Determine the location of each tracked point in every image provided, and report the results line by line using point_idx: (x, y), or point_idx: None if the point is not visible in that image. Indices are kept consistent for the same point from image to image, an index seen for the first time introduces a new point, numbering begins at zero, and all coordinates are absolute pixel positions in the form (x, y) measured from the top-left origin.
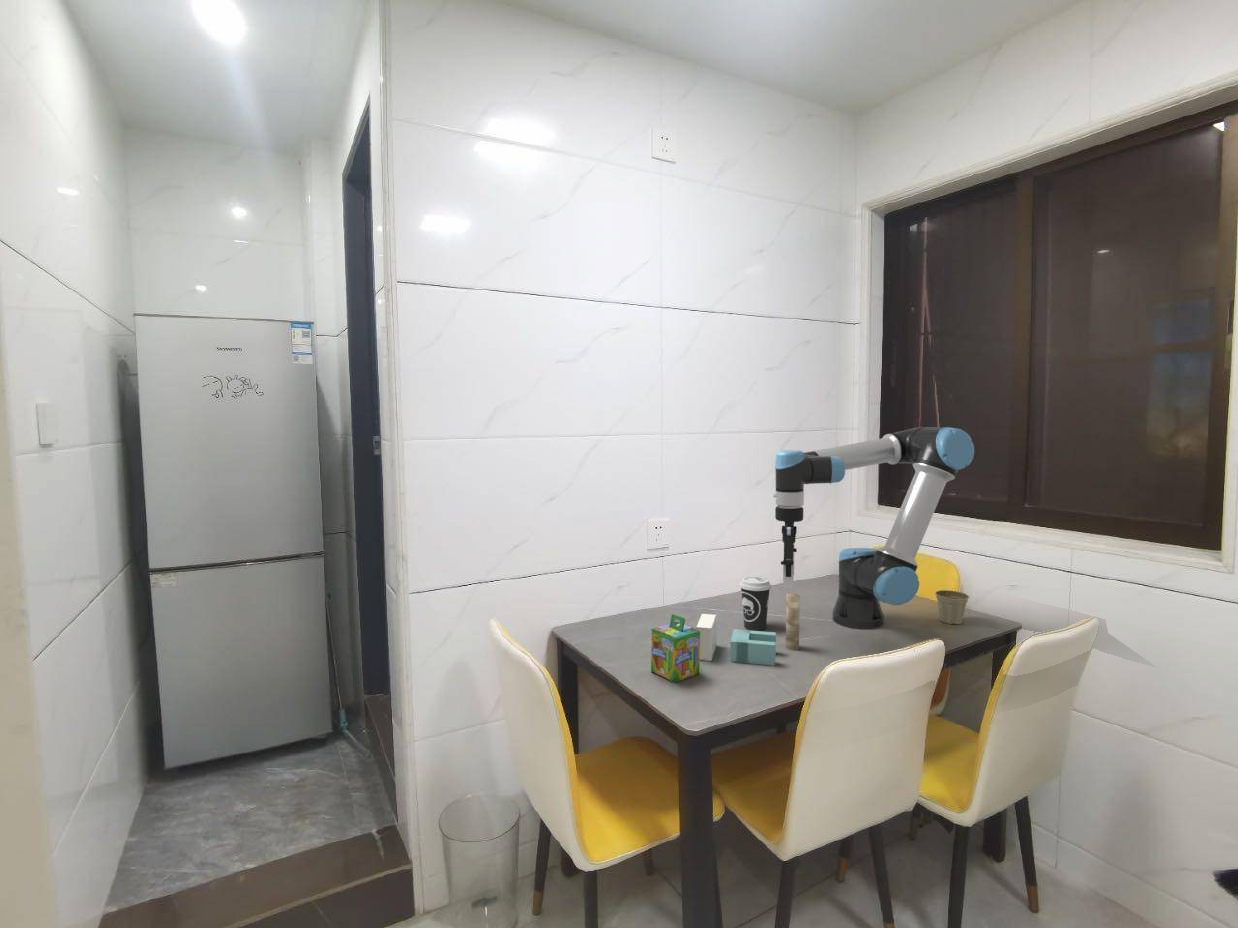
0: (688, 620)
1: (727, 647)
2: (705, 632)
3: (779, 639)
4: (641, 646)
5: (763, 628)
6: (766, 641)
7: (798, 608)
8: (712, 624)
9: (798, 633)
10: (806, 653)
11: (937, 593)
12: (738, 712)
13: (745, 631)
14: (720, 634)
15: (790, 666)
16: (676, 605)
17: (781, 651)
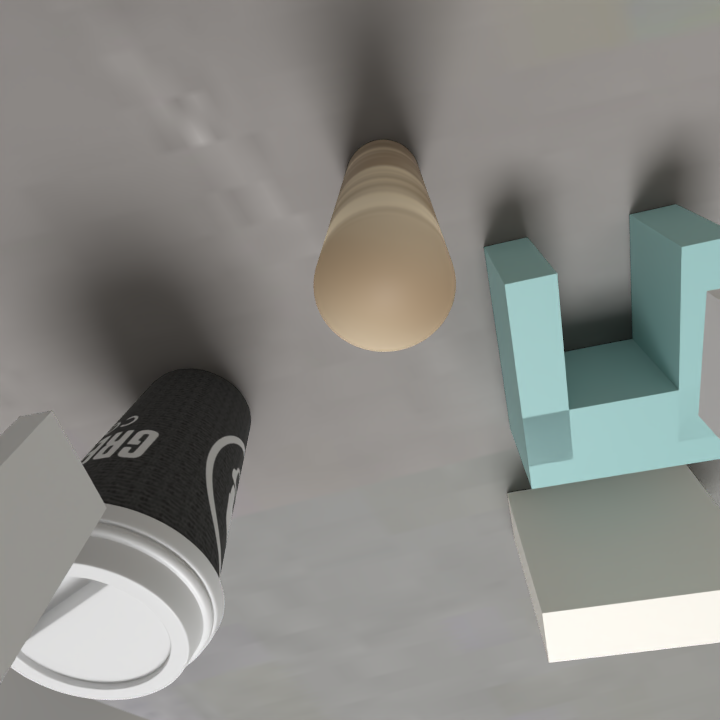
0: (277, 638)
1: (510, 450)
2: None
3: (298, 271)
4: (607, 677)
5: (211, 377)
6: (683, 296)
7: (404, 193)
8: (712, 591)
9: (394, 155)
10: (440, 78)
11: None
12: None
13: (546, 433)
14: (369, 511)
15: (667, 122)
16: (145, 706)
17: (465, 220)
